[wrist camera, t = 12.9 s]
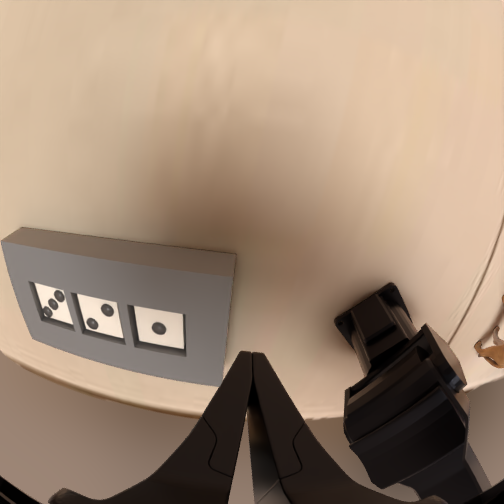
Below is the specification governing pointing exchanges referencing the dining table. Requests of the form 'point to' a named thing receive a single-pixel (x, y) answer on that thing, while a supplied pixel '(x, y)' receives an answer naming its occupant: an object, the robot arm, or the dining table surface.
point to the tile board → (126, 299)
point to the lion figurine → (493, 350)
